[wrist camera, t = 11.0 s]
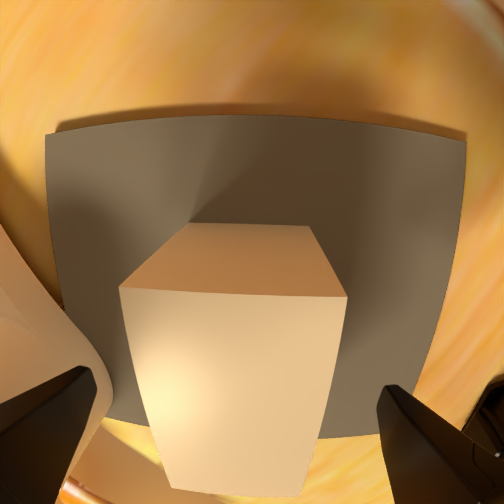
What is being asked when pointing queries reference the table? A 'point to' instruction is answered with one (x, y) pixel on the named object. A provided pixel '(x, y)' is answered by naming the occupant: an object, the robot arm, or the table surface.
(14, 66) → the table surface
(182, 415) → the card deck box
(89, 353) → the bracket
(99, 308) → the grey rubber mat
